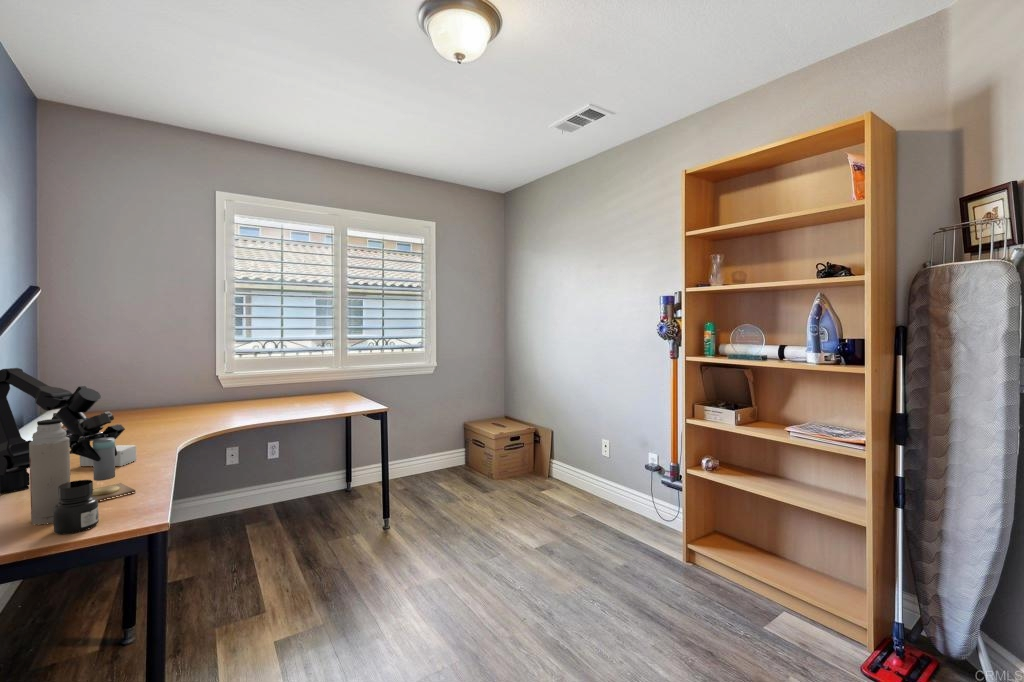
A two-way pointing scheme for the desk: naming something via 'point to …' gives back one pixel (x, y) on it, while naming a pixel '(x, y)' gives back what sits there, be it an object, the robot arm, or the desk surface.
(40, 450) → the thermos bottle
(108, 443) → the grey cylinder
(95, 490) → the plate
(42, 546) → the desk surface
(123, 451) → the skincare box
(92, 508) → the ink bottle
